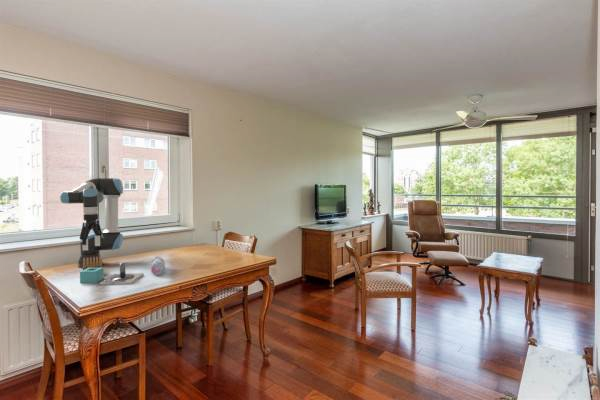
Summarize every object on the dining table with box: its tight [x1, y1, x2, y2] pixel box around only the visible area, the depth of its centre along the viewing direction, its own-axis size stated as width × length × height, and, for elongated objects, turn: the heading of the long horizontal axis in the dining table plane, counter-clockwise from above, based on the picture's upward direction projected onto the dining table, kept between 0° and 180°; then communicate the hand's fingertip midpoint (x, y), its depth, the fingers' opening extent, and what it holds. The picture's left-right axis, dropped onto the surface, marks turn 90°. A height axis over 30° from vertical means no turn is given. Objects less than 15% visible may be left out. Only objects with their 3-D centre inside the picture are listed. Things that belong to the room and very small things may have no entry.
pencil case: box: [150, 255, 166, 277], centre depth 211 cm, size 21×9×10 cm, turn 25°
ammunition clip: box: [82, 255, 103, 270], centre depth 204 cm, size 11×2×12 cm, turn 123°
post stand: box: [99, 262, 144, 286], centre depth 193 cm, size 18×18×10 cm
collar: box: [79, 266, 105, 284], centre depth 191 cm, size 9×9×7 cm
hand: (91, 248), depth 191 cm, fingers open, 13 cm apart
